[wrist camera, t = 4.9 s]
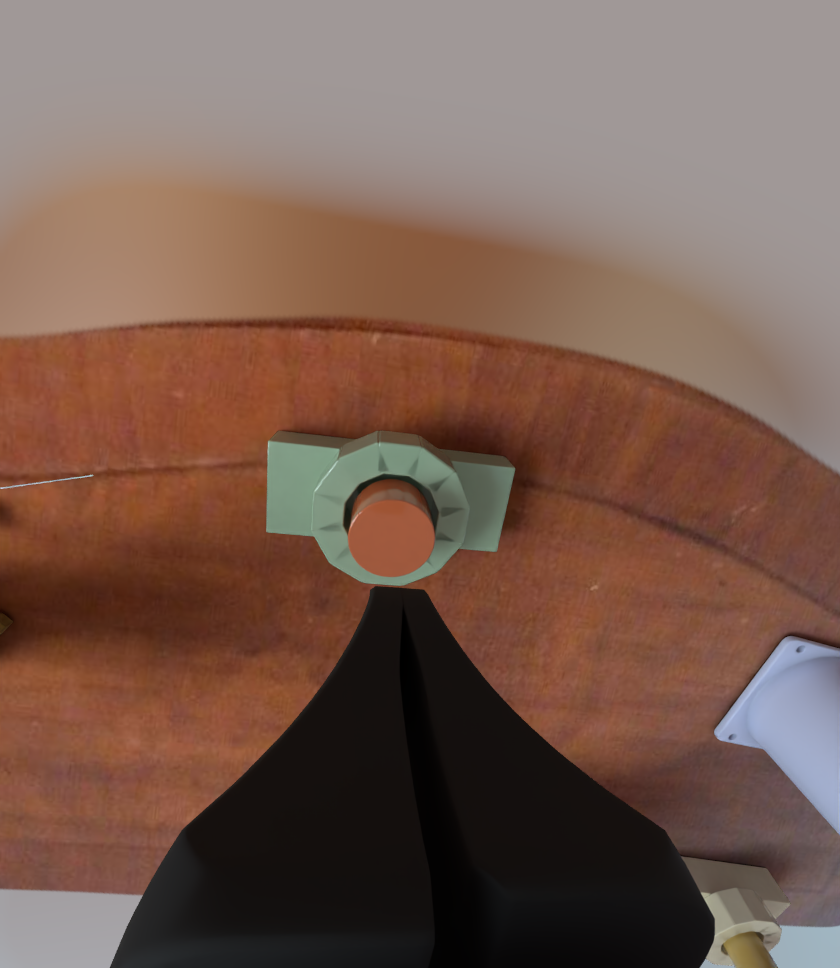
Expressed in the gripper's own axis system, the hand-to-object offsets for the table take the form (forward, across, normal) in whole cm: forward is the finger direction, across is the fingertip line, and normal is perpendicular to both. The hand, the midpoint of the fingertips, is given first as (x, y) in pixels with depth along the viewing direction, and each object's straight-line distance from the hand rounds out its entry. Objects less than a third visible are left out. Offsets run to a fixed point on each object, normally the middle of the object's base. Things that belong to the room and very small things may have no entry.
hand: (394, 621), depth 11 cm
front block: (+9, 0, 0) cm, 9 cm away
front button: (+6, 0, 0) cm, 6 cm away
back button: (+6, -27, +29) cm, 40 cm away
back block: (+9, -27, +29) cm, 41 cm away
